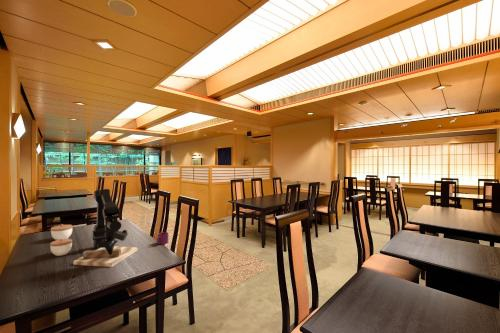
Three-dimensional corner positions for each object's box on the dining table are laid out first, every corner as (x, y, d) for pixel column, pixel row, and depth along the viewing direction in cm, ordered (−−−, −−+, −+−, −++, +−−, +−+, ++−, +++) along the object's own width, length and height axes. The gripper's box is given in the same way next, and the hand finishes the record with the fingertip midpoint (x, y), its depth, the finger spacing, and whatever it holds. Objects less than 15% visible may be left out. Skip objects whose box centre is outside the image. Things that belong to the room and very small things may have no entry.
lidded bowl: (75, 238, 172) (75, 223, 172) (54, 243, 161) (54, 227, 161) (68, 235, 179) (68, 221, 179) (48, 239, 168) (48, 224, 168)
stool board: (73, 264, 128) (73, 260, 128) (104, 248, 152) (104, 245, 152) (111, 266, 125) (111, 262, 125) (137, 250, 149) (137, 247, 149)
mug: (170, 242, 166) (170, 232, 166) (160, 246, 156) (160, 236, 156) (162, 240, 168) (162, 231, 168) (152, 245, 159) (152, 235, 159)
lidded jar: (73, 253, 143) (73, 238, 143) (51, 258, 135) (51, 243, 135) (70, 249, 150) (70, 235, 150) (49, 253, 142) (49, 238, 142)
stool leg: (81, 258, 130) (81, 253, 130) (84, 255, 134) (84, 250, 134) (118, 256, 134) (118, 251, 134) (121, 253, 137) (121, 249, 137)
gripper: (119, 231, 124) (118, 260, 124) (131, 223, 143) (131, 248, 143) (96, 232, 123) (96, 261, 123) (112, 223, 141) (111, 249, 141)
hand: (110, 254), depth 132 cm, fingers closed
